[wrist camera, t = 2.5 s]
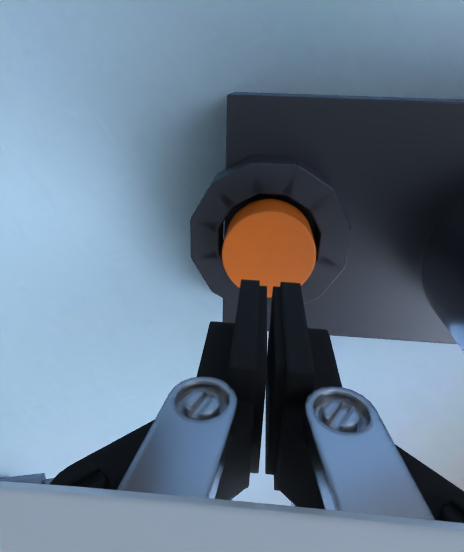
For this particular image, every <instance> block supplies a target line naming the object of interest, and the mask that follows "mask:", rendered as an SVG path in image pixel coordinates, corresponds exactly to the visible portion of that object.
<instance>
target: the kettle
mask: <svg viewBox="0 0 464 552" xmlns="http://www.w3.org/2000/svg"><path fill="white" fill-rule="evenodd" d="M422 284H423V289H424V293H425V296H426V298H427V300H428V302H429V304H430V306H431V307H432V309H433V310H434V312H435V313H436V314H437V316H438V317H439V319H440V320H441V321H442V323H443V324H444V326H445V327H446V328H447V330H448V331H449V333H450V334H451V335H452V337H453V338H454V340H455V341H456V342H457V344H458V345H459V346H460V348H461V349H462V351H463V352H464V195H463V196H462V197H461V198H460V199H459V200H458V201H457V202H456V203H455V204H454V205H453V206H452V207H451V208H450V209H449V210H448V211H447V212H446V213H445V215H444V216H443V217H442V218H441V220H440V221H439V223H438V224H437V226H436V227H435V229H434V231H433V233H432V235H431V237H430V239H429V241H428V243H427V246H426V249H425V252H424V257H423V262H422Z"/></svg>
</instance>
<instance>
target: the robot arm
mask: <svg viewBox="0 0 464 552" xmlns="http://www.w3.org/2000/svg"><path fill="white" fill-rule="evenodd" d="M265 388H266V458H265V472H266V474H272V475H274V490H278V491H281V492H282V493H283V494H284V495H285V496H286V497H287V498H288V499H289V500H290V501H291V506H284V505H274V504H263V503H253V502H242V501H232V499H233V498H234V497H235V496H236V495H238V494H239V493H240V492H241V491H243V490H244V489H245V488H248V486H249V476H250V473H258V471H259V460H260V448H261V436H262V424H263V412H264V400H265ZM0 552H464V491H462V490H461V489H459V488H458V487H456V486H455V485H454V484H452V483H451V482H449V481H448V480H446V479H445V478H443V477H442V476H440V475H439V474H437V473H436V472H435V471H433V470H432V469H430V468H429V467H427V466H426V465H424V464H423V463H421V462H420V461H418V460H417V459H416V458H414V457H413V456H411V455H410V454H408V453H407V452H405V451H404V450H402V449H401V448H399V447H398V446H397V445H395V444H394V442H393V440H392V438H391V437H390V435H389V433H388V431H387V429H386V427H385V425H384V424H383V422H382V420H381V418H380V416H379V414H378V412H377V410H376V409H375V408H374V406H373V405H372V404H371V402H370V401H369V400H367V399H366V398H365V397H364V396H362V395H361V394H359V393H357V392H355V391H353V390H350V389H346V388H343V387H342V385H341V381H340V377H339V373H338V369H337V365H336V360H335V356H334V352H333V348H332V344H331V340H330V336H329V333H328V330H327V329H314V328H308V327H307V321H306V315H305V309H304V303H303V297H302V291H301V285H300V283H293V282H281V283H280V287H276V286H273V291H272V303H271V315H270V327H269V339H268V351H267V286H260V280H244V279H241V283H240V290H239V298H238V305H237V312H236V319H235V323H226V322H210V325H209V329H208V333H207V337H206V341H205V345H204V349H203V353H202V357H201V361H200V366H199V370H198V374H197V377H194V378H190V379H187V380H184V381H182V382H181V383H179V384H178V385H176V386H175V387H174V388H173V389H172V391H171V392H170V393H169V395H168V397H167V399H166V400H165V402H164V404H163V406H162V408H161V410H160V411H159V413H158V415H157V417H156V419H155V420H153V421H151V422H149V423H148V424H146V425H144V426H142V427H140V428H138V429H137V430H135V431H133V432H131V433H129V434H127V435H125V436H124V437H122V438H120V439H118V440H116V441H114V442H112V443H111V444H109V445H107V446H105V447H103V448H101V449H100V450H98V451H96V452H94V453H92V454H90V455H88V456H87V457H85V458H83V459H81V460H79V461H77V462H76V463H74V464H72V465H70V466H69V467H67V468H66V469H64V470H63V471H61V472H60V473H59V474H58V475H57V476H56V477H55V478H52V479H46V478H45V474H44V473H42V474H33V475H24V476H16V477H7V478H0Z"/></svg>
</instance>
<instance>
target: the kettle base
mask: <svg viewBox="0 0 464 552" xmlns="http://www.w3.org/2000/svg"><path fill="white" fill-rule="evenodd" d="M463 195H464V100H460V99H430V98H399V97H369V96H339V95H308V94H278V93H247V92H234V93H231V94H228V96H227V135H226V169H225V170H223V171H221V172H220V173H218V174H217V175H216V176H215V178H214V179H213V181H212V183H211V184H210V186H209V188H208V189H207V191H206V193H205V194H204V196H203V198H202V199H201V201H200V203H199V205H198V206H197V208H196V210H195V212H194V213H193V215H192V217H191V220H190V237H191V258H192V260H193V262H194V264H195V265H196V267H197V268H198V270H199V272H200V273H201V275H202V277H203V278H204V280H205V281H206V283H207V285H208V286H209V288H210V289H211V291H212V292H214V293H215V294H217V295H219V296H221V297H222V298H223V322H226V323H235V319H236V312H237V305H238V298H239V290H240V288H239V287H238V286H237V285H235V284H234V283H233V282H232V280H231V279H230V278H229V276H228V275H227V273H226V271H225V269H224V266H223V261H222V247H223V243H224V240H223V222H224V220H225V232H224V239H225V235H226V232H227V228H228V226H229V223H230V221H231V219H232V218H233V216H234V215H235V214H236V213H237V212H238V211H239V210H240V209H241V208H242V207H244V206H245V205H247V204H249V203H251V202H254V201H257V200H261V199H278V200H282V201H285V202H287V203H290V204H291V205H293V206H295V207H296V208H297V209H299V210H300V211H301V212H302V213H303V215H304V216H305V217H306V219H307V221H308V223H309V225H310V228H311V231H312V235H313V238H314V242H315V246H316V261H315V265H314V268H313V271H312V273H311V275H310V276H309V277H308V279H307V280H306V281H305V282H304V283H303V284H302V285H301V291H302V297H303V303H304V309H305V315H306V321H307V327H308V328H314V329H327V330H328V333H329V335H333V336H348V337H362V338H377V339H391V340H405V341H420V342H434V343H448V344H457V342H456V341H455V340H454V338H453V337H452V335H451V334H450V333H449V331H448V330H447V328H446V327H445V326H444V324H443V323H442V321H441V320H440V319H439V317H438V316H437V314H436V313H435V312H434V310H433V309H432V307H431V306H430V304H429V302H428V300H427V298H426V296H425V293H424V289H423V284H422V262H423V257H424V252H425V249H426V246H427V243H428V241H429V239H430V237H431V235H432V233H433V231H434V229H435V227H436V226H437V224H438V223H439V221H440V220H441V218H442V217H443V216H444V215H445V213H446V212H447V211H448V210H449V209H450V208H451V207H452V206H453V205H454V204H455V203H456V202H457V201H458V200H459V199H460V198H461V197H462V196H463ZM271 303H272V297H267V331H269V327H270V315H271Z"/></svg>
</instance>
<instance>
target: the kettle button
mask: <svg viewBox="0 0 464 552" xmlns="http://www.w3.org/2000/svg"><path fill="white" fill-rule="evenodd" d="M222 261H223V266H224V269H225V271H226V273H227V275H228V276H229V278H230V279H231V280H232V282H233V283H234V284H235V285H237V286H238V287H239V288H240V283H241V279H244V280H260V286H267V297H272V291H273V286H276V287H280V283H281V282H293V283H300V285H302V284H303V283H304V282H305V281H306V280H307V279H308V277H309V276H310V275H311V273H312V271H313V268H314V265H315V261H316V246H315V242H314V238H313V235H312V231H311V228H310V225H309V223H308V221H307V219H306V217H305V216H304V215H303V213H302V212H301V211H300V210H299V209H297V208H296V207H295V206H293V205H291V204H290V203H287V202H285V201H282V200H278V199H261V200H257V201H254V202H251V203H249V204H247V205H245V206H244V207H242V208H241V209H240V210H239V211H238V212H237V213H236V214H235V215H234V216H233V218H232V219H231V221H230V223H229V226H228V228H227V232H226V235H225V239H224V243H223V247H222Z"/></svg>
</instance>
